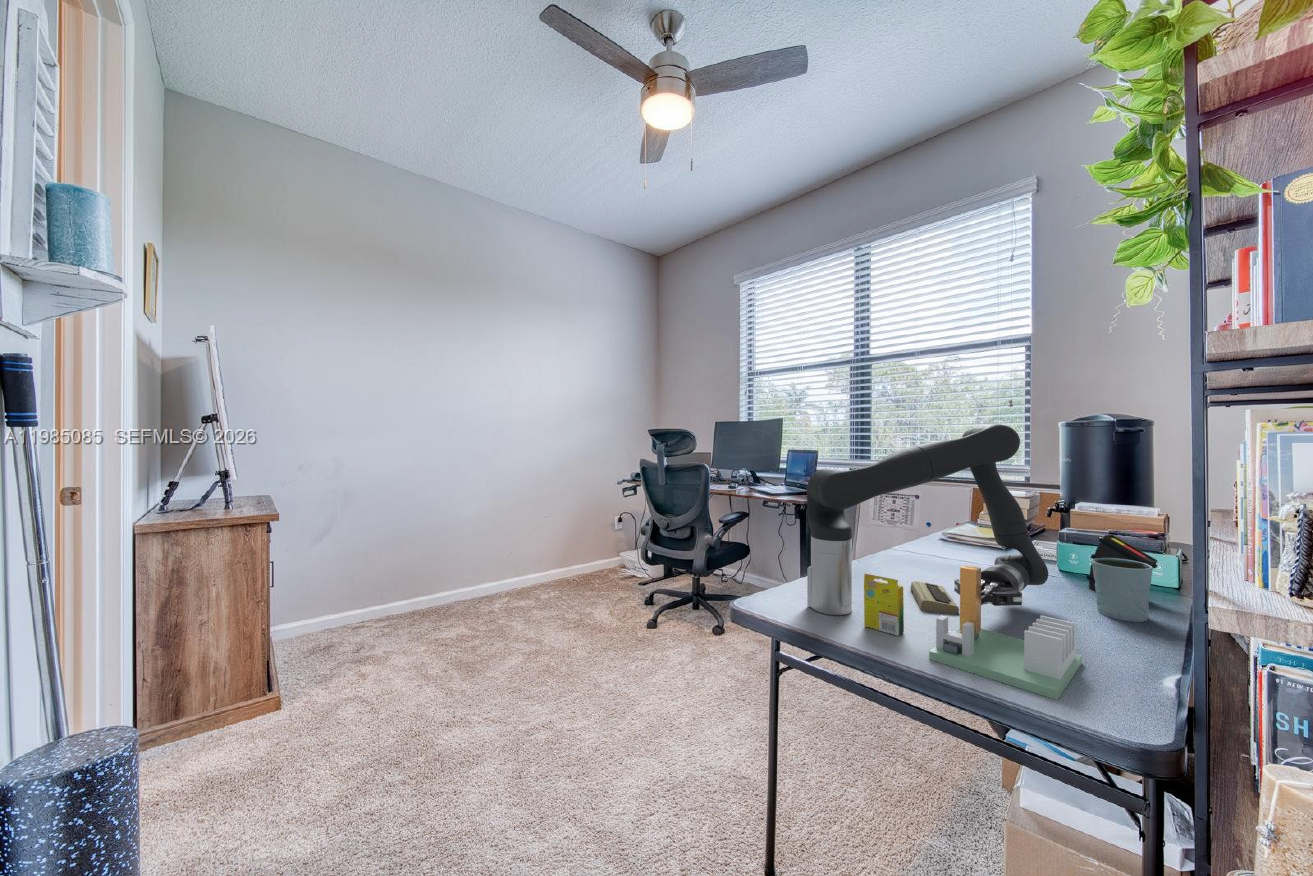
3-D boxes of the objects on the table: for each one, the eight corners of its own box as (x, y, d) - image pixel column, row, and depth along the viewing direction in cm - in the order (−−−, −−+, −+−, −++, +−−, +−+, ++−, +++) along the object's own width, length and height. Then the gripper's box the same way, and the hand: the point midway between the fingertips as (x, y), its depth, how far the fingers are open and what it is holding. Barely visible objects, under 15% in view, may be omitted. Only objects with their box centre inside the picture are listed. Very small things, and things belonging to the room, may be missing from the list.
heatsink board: (929, 659, 94) (929, 616, 93) (965, 632, 106) (965, 594, 106) (1057, 700, 79) (1057, 649, 79) (1081, 663, 92) (1082, 619, 91)
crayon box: (904, 632, 106) (904, 577, 106) (898, 636, 104) (898, 580, 104) (869, 623, 111) (869, 570, 111) (863, 626, 109) (863, 573, 109)
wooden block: (942, 650, 93) (942, 576, 93) (965, 633, 101) (965, 565, 101) (958, 656, 91) (959, 579, 91) (980, 637, 99) (981, 567, 99)
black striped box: (1083, 578, 138) (1111, 533, 132) (1135, 613, 127) (1169, 566, 121) (1073, 579, 137) (1101, 534, 131) (1126, 615, 126) (1159, 567, 120)
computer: (959, 616, 116) (959, 601, 116) (920, 612, 119) (920, 598, 119) (944, 595, 131) (944, 582, 131) (910, 592, 134) (910, 579, 134)
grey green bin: (1165, 623, 110) (1165, 568, 110) (1119, 623, 110) (1120, 569, 110) (1121, 607, 120) (1122, 557, 120) (1080, 607, 120) (1080, 557, 120)
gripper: (966, 561, 116) (936, 575, 105) (1035, 573, 106) (1012, 590, 95) (965, 593, 117) (936, 611, 105) (1035, 608, 107) (1011, 629, 95)
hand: (972, 601), depth 100 cm, fingers closed
